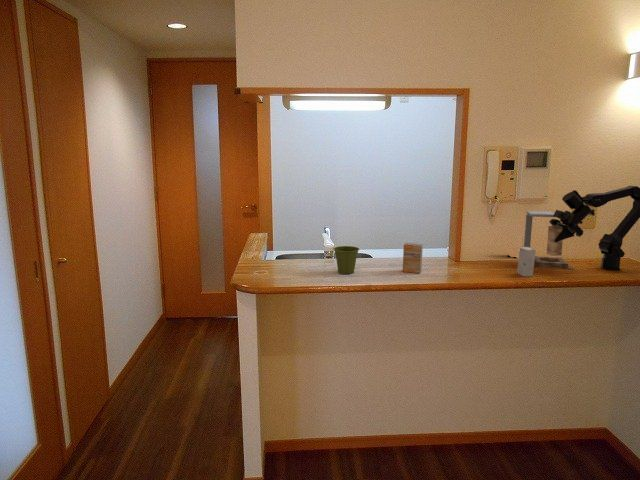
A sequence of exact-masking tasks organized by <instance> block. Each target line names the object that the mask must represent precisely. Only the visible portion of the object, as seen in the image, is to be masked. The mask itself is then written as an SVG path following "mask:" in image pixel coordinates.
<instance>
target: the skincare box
mask: <svg viewBox="0 0 640 480" xmlns="http://www.w3.org/2000/svg"><path fill="white" fill-rule="evenodd" d="M536 251H537V250H536V249H534V248H533V247H532V248H531V247H530V248H529V247H524V246H522V247H520V251H519V258H518V261H517V262H518V263H517V270H516V273H517V275H520V276H522V277H533V276H534V261H535V256H536Z"/></svg>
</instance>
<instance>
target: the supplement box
mask: <svg viewBox="0 0 640 480" xmlns="http://www.w3.org/2000/svg"><path fill="white" fill-rule="evenodd" d="M423 247H424V243H411V242H410V243H409V242H404V243H403V252H402V255H403V256H402V272H403V273H413V274H421V272H422V269H423V268H422V267H423V250H424V249H423Z"/></svg>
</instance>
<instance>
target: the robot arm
mask: <svg viewBox="0 0 640 480" xmlns="http://www.w3.org/2000/svg"><path fill="white" fill-rule="evenodd" d="M628 197H630V198H631V199H632V200H633V201H632V207H631V209H630V211H629V212H627V214H626V215H625V217H624V218H623V219H622V220H621V222H619V224H618V225H617V227H615V229H613V230H614V231H612V232H611V233H610V234H608V233H604V234H603V236H602V238H600V239H599V242H598V248H599V250H600V253H601V255H602V257H601V263H600V267H601V268H603V269H604V270H608V271H609V270H611V271H613V270H614V271H621V268H620V267H621V266H620V265H621V258H624V256H625V254H626V253H625V252H624V250H623V249H622V248H621V247H622V245H623V241H624V237H626V235H628V233H629V232H630V230H631V229H633V227H634V225H635V224H637V222H638V221H639V219H640V187H639V186H638V185H628V186H626V187H622V188H617V189H614V190H609V191H606V192H595V193H594V192H593V193H587V194H585V196H581V195H580V193H579V191H577V190H574V189H573V190H572V191H570V192H568V193H567V194H564V195H563V196H562V198H561V201H563V203H565V205H566V206H567V207H568V208H569V209H570V210H572V212H571V211H568V210H565V211H563V210H558V209H555V211H554V212H553V213H554V215H553V216H554V217H553V218H552V219H550V220H549V221H548V222H549V224H550V226H561V227H563V229H562V232H561V233H560V234H559V235H558V237H557V238H556V239H555V240H554V241H555V242H558V241H561V240H563V241H564V240H567V239H570V238H572V237H573V238H574V237H579V238H581V237H582V236H583V235H584V229H582V228H581V227H580V226H579V225H582V224H584V222H583V220H585V219H586V218H587V217H588V216H595V215H596V214H595V209H592V208H601V207H602V206H604V205H606V204H608V203H610V202H611V201H615V200H619V199H623V198H628ZM556 218H557V219H556Z"/></svg>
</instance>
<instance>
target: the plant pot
mask: <svg viewBox="0 0 640 480" xmlns="http://www.w3.org/2000/svg"><path fill="white" fill-rule="evenodd" d="M332 250H333V251H334V254H335V259H336V264H337V265H336V266H337V272H338V273H339V274H341V275H346V274H347V275H352V274H354V273H355V268H356V263H357V258H358V257H357V256H358V254H359V251H360V248H359V247H356V246H352V245H350V246H349V245H342V246H341V245H340V246H336V247H333V248H332Z"/></svg>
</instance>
